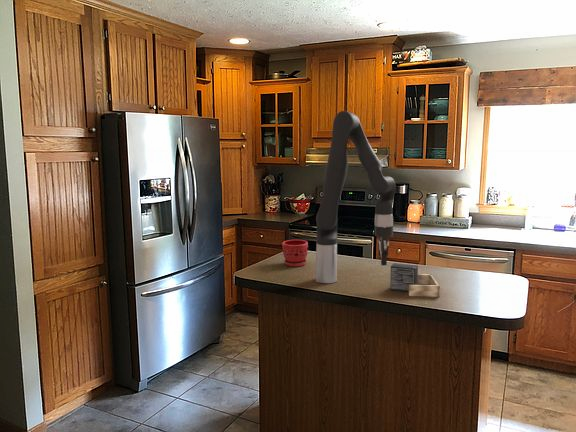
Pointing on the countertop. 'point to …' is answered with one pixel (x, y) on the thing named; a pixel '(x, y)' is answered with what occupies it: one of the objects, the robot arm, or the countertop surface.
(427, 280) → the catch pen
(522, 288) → the countertop surface
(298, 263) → the plant pot
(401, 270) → the small box
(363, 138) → the robot arm
